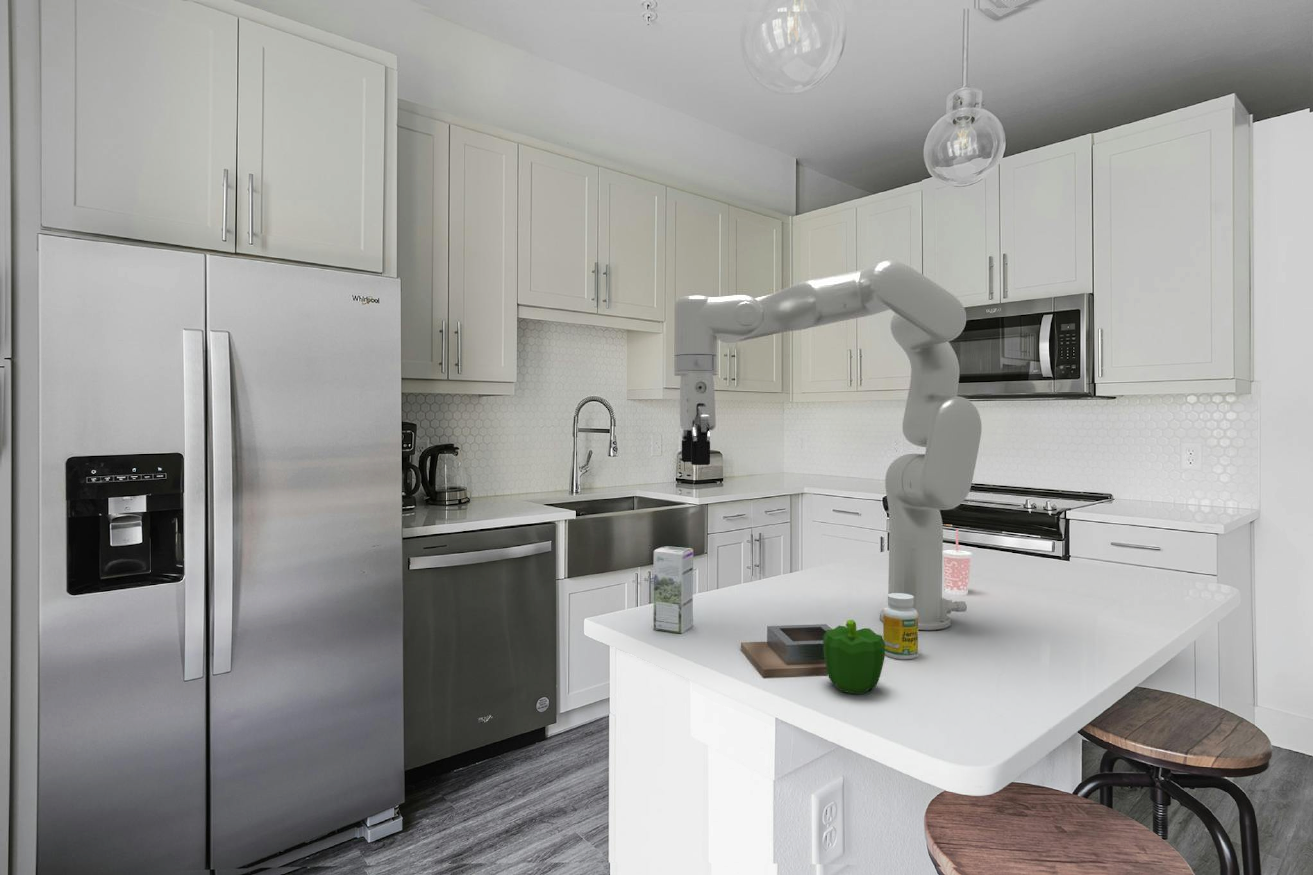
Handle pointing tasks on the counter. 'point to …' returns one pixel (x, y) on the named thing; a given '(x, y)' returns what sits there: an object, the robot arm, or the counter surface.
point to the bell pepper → (853, 657)
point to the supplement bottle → (900, 627)
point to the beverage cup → (956, 570)
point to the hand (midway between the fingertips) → (695, 463)
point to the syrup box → (673, 589)
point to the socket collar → (798, 643)
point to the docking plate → (777, 662)
